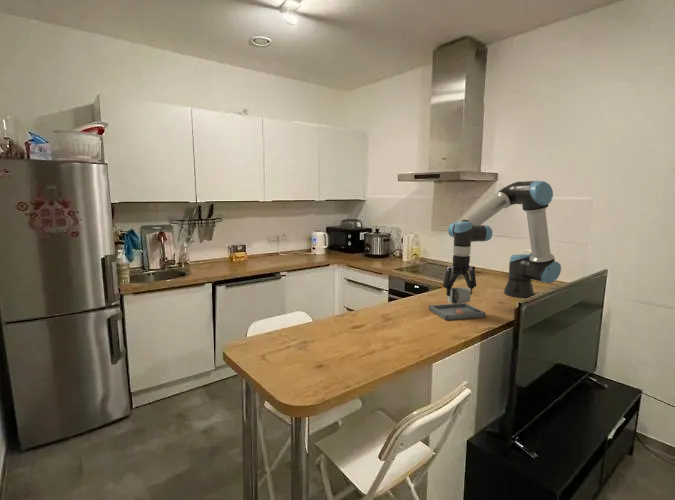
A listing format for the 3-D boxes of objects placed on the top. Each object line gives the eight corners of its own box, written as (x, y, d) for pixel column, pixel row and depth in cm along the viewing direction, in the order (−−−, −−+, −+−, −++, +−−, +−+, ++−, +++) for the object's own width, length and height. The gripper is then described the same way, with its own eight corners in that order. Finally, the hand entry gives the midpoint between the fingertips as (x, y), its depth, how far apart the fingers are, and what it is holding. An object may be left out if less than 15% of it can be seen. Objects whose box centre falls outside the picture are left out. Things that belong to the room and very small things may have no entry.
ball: (456, 306, 172) (453, 312, 172) (460, 308, 169) (457, 314, 169) (461, 309, 173) (458, 315, 173) (465, 311, 170) (462, 317, 170)
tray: (465, 307, 187) (465, 302, 186) (485, 317, 171) (485, 312, 171) (429, 309, 182) (429, 305, 182) (445, 320, 167) (446, 315, 166)
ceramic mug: (471, 303, 175) (472, 287, 174) (458, 306, 171) (459, 289, 170) (454, 298, 184) (455, 283, 183) (442, 300, 180) (442, 285, 179)
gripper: (477, 253, 179) (474, 298, 182) (436, 254, 174) (434, 301, 177) (487, 255, 172) (483, 302, 175) (444, 256, 167) (442, 305, 170)
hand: (458, 301), depth 176 cm, fingers closed on ceramic mug, 9 cm apart
